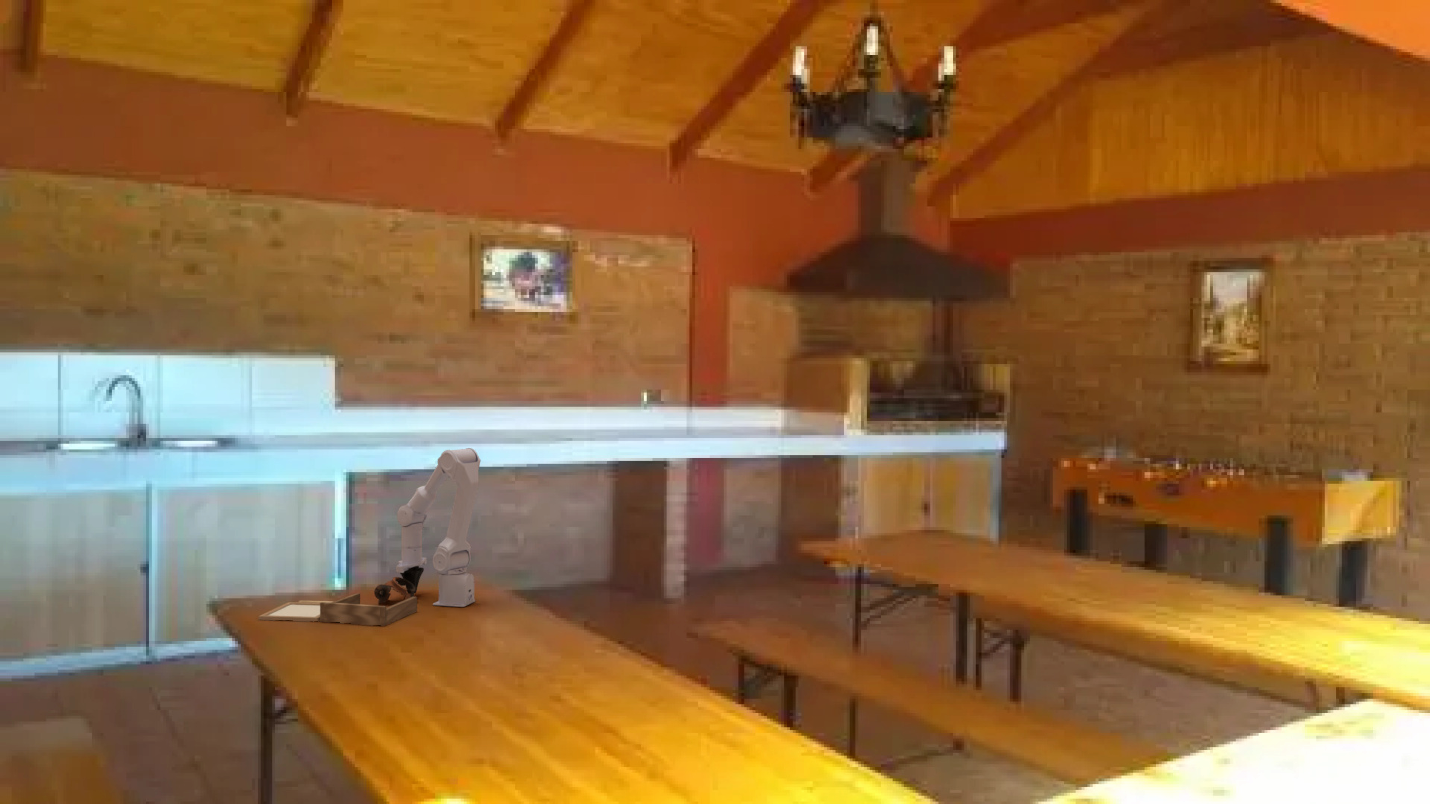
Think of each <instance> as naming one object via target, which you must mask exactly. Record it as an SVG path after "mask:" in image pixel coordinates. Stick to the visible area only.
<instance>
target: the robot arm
mask: <svg viewBox="0 0 1430 804" xmlns="http://www.w3.org/2000/svg"><path fill="white" fill-rule="evenodd" d="M481 462H482V461H481V458H480V456H479V455H478V453H477V451H476V449H474V448H472V447H468V448H460V449H445V450H443V452H441V454H440V456H439V457H438V458H437V465H436V467H435V468H434V471H433V472H432V474H431V475H430V477H429V478H428V481H427V482H426V484H425V485H422V486H420V487H417V488H416V489H415V493H414V495H413V496H412V497H411V499H410V500H408V502H407V503H406V504H405V505H402V506H400V507H399V509H398V510H397V514H396V519H397V521H398V523H399V524H400V525H401V560H398V561H397V564H398V565H396V567H395V571H396V573H398V574H400V576H401V578H403V579H406V580H408V581H409V582H411V583H412V584H413V585H414V586H415V589H416V590H415V591H414V595H415V594H416V593H417V591H418V587H419V582H420V579H421V577H422V575H423V573H424V571H425V570H424V569H425V568H424V567H420V566H423V565H424V566H426V565H427V563H428V562H427V559H428V558H427V557H423V535H422V534H423V530H424V528H425V527H424V525H425V524H424V523H425V522H426V520H427V518H428V517H427V516H428V515H427V514H426V513H427V512H428V510H429V509H430V508H431V506H432V505H433V503H434V502H435V501H436V499H437V492H438V490H439V489H440V488H441V487H442V485H443V484H444V483H445V482H446V481H447V480H448V478H450V479H451V480H452V482H454V483H455V484H456V485H457V487H456V492H455V496H454V501H453V504H452V505H453V506H452V510H451V514H450V518H449V523H448V527H447V533H446V536H445V538H444V539H443V540H442V541H441V542H440V543H439V544H438V546H437V550H436V551H435V552H434V554H433V556H432V565H433V568H434V570H435V571H436V574H438V601H435V602H433V603H432V605H433V606H441V607H443V606H444V607H455V608H456V607H458V608H459V607H460V608H463V607H467V606H468V605H471V604H473V603H475V602H476V599H475V577H474V574H472V573H468V572H467V570H468V569H467V568H468V567H469V566H470V564H471V560H472V556H471V550H472V546H471V544H470V543H469V542H468V541H467V536H468V533H469V529H470V528H469V527H470V523H471V519H472V514H473V511H474V506H475V502H476V497H477V492H478V489H479V484H480V481H479V480H480V479H479V478H480V477H479V471H480V470H479V468H480V464H481ZM405 588H406V589H407V592H406V593H409V591H408V588H407V586H406V585H405Z"/></svg>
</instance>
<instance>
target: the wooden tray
mask: <svg viewBox="0 0 1430 804" xmlns="http://www.w3.org/2000/svg"><path fill="white" fill-rule="evenodd" d="M333 601H334V602H321V603H320V623H330V622H340V623H339V624H344V623H351V624H350V625H358V624H359V625H361V626H373V625H381V626H380V627H386V626H388V625H390V624H392V623H395V622H397V621H399V620H401V619H403V618H405V617H408V616H410V615H413V614H415V613H417V612H416V611H418V597H417V596H414V597H411V598H409V599H406V600H401V601H398V602H397V603H395V604H392V605H390V606H387V605H374V604H373V605H372V604H361V592H356V593H353V594H350V595H347V596H345V597H342V598H340V599H337V600H333ZM396 620H397V621H396ZM391 622H392V623H391ZM359 625H358V626H359ZM385 625H386V626H385Z"/></svg>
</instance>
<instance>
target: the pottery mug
mask: <svg viewBox="0 0 1430 804" xmlns="http://www.w3.org/2000/svg"><path fill="white" fill-rule="evenodd" d="M404 586H405V587H404ZM406 586H407V588H408V591H409V593H407V589H406ZM391 590H393V591H395V592H397V593H399V594H401V595H402V596H404V600H406V599H409V598H411V597H415V594H414V591H415V590H416V589H415V586H414V585H413V584H412V583H411V582H409V581H408V580H406V579H403V577H399V576H394V577H392V579H391V580H388V581H387V582H385V583H384V584H379V585H376V587H375V588H374V591H373V592H374V597H375V598H376V599H377V600H378V601H377V602H378V605H380V604H381V603H382V604H385V603H386V601H389V598H390V596H391V594H392V593H391ZM404 600H403V601H404Z"/></svg>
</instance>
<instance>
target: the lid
mask: <svg viewBox="0 0 1430 804" xmlns="http://www.w3.org/2000/svg"><path fill="white" fill-rule="evenodd" d="M334 601H335V600H333V601H332V600H331V601H330V600H329V601H328V600H299V601H296V602H295V601H290V602H286V603H284V604H282V605H279V606H277V607H275V608H273V609H271V610H269V611H267V612H265V613H262V614H261V615H258V621H275V620H293V621H292V622H310V621H313V622H314V621H318V622H319V620H320V603H321V602H334ZM313 622H312V623H313ZM310 623H311V622H310ZM314 623H315V622H314Z"/></svg>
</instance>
